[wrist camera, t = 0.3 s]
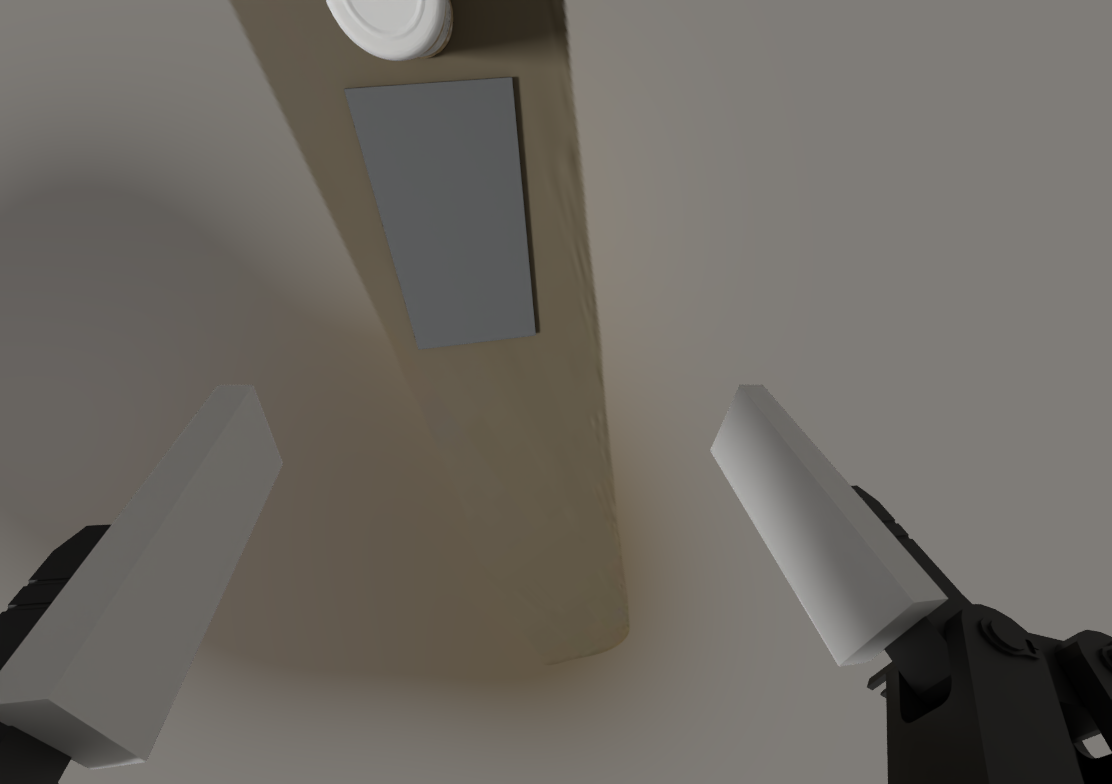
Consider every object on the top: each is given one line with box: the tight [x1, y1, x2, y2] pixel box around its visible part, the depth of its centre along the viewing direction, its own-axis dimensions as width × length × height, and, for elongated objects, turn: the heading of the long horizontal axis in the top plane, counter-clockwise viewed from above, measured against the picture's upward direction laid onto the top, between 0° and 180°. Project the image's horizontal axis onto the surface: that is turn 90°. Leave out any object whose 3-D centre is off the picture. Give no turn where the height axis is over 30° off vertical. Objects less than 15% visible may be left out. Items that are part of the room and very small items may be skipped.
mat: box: [344, 77, 536, 349], centre depth 35 cm, size 20×11×1 cm, turn 3°
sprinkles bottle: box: [326, 0, 453, 61], centre depth 22 cm, size 5×5×13 cm
